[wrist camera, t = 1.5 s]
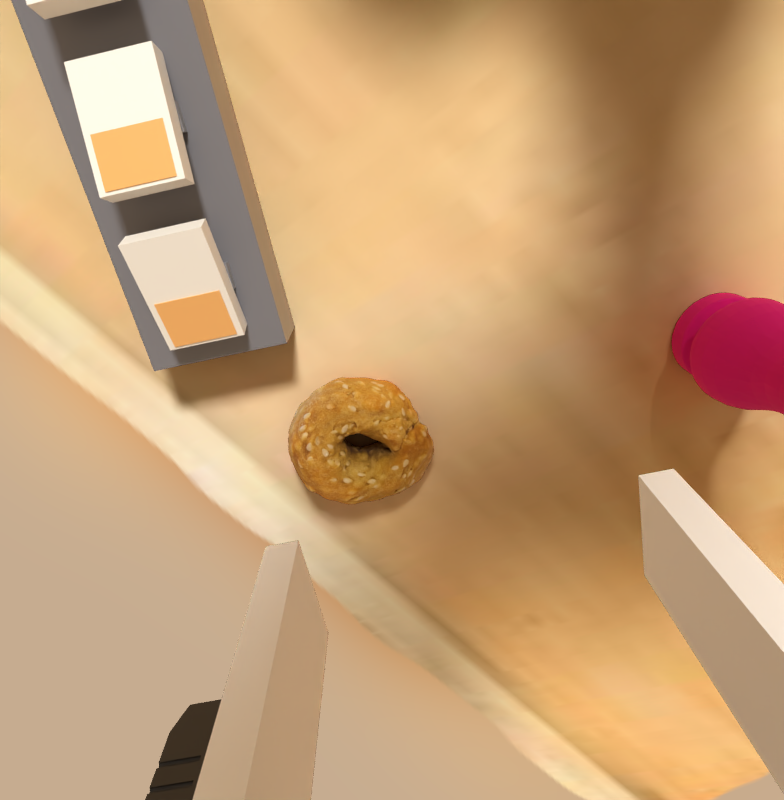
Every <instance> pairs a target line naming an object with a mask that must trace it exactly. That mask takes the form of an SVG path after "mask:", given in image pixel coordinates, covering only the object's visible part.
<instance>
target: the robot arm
mask: <svg viewBox="0 0 784 800" xmlns="http://www.w3.org/2000/svg"><path fill="white" fill-rule="evenodd" d="M638 478H639V495H640V512H641V528H642V545H643V562H644V576H645V577H646V579H647V580H648V582H649V583H650V585H651V587H652V588H653V590H654V591H655V593H656V594H657V596H658V598H659V599H660V601H661V602H662V604H663V605H664V607H665V609H666V610H667V612H668V613H669V615H670V616H671V618H672V620H673V621H674V623H675V624H676V626H677V627H678V629H679V631H680V632H681V634H682V635H683V637H684V638H685V640H686V641H687V643H688V645H689V646H690V648H691V649H692V651H693V652H694V654H695V656H696V657H697V659H698V660H699V662H700V663H701V665H702V667H703V668H704V670H705V671H706V673H707V674H708V676H709V678H710V679H711V681H712V682H713V684H714V685H715V687H716V689H717V690H718V692H719V693H720V695H721V696H722V698H723V699H724V701H725V703H726V704H727V706H728V707H729V709H730V710H731V712H732V714H733V715H734V717H735V718H736V720H737V721H738V723H739V725H740V726H741V728H742V729H743V731H744V732H745V734H746V736H747V737H748V739H749V740H750V742H751V743H752V745H753V747H754V748H755V750H756V751H757V753H758V754H759V756H760V757H761V759H762V761H763V762H764V764H765V765H766V767H767V768H768V770H769V772H770V773H771V775H772V776H773V778H774V779H775V781H776V783H777V784H778V786H779V787H780V789H781V790H782V792H783V793H784V584H783V583H782V582H781V581H780V580H779V579H778V578H777V577H776V576H775V575H774V574H773V573H772V572H771V571H770V569H769V568H768V567H767V566H766V565H765V564H764V563H763V562H762V561H761V560H760V559H759V558H758V557H757V556H756V555H755V554H754V553H753V552H752V551H751V550H750V548H749V547H748V546H747V545H746V544H745V543H744V542H743V541H742V540H741V539H740V538H739V537H738V536H737V535H736V534H735V533H734V532H733V531H732V530H731V528H730V527H729V526H728V525H727V524H726V523H725V522H724V521H723V520H722V519H721V518H720V517H719V516H718V515H717V514H716V513H715V512H714V511H713V510H712V509H711V507H710V506H709V505H708V504H707V503H706V502H705V501H704V500H703V499H702V498H701V497H700V496H699V495H698V494H697V493H696V492H695V491H694V490H693V489H692V487H691V486H690V485H689V484H688V483H687V482H686V481H685V480H684V479H683V478H682V477H681V476H680V475H679V474H678V473H677V472H676V471H675V470H674V469H669V470H664V471H658V472H653V473H648V474H643V475H638ZM327 641H328V630H327V628H326V624H325V621H324V618H323V615H322V612H321V609H320V606H319V603H318V599H317V596H316V593H315V590H314V588H313V584H312V581H311V578H310V575H309V572H308V569H307V566H306V563H305V559H304V556H303V553H302V550H301V547H300V544H299V541H293V542H288V543H282V544H277V545H272V546H267V547H265V551H264V554H263V558H262V561H261V564H260V568H259V571H258V575H257V578H256V582H255V585H254V589H253V592H252V596H251V599H250V603H249V606H248V610H247V613H246V616H245V620H244V624H243V627H242V630H241V634H240V637H239V641H238V644H237V647H236V651H235V654H234V658H233V661H232V665H231V668H230V672H229V675H228V679H227V682H226V685H225V689H224V692H223V696H222V699H221V700H215V701H210V702H204V703H198V704H193V705H190V706H189V707H188V708H187V710H186V711H185V712H184V714H183V715H182V716H181V718H180V719H179V721H178V722H177V723H176V725H175V726H174V727H173V729H172V730H171V731H170V733H169V736H168V738H167V741H166V744H165V747H164V750H163V752H162V755H161V758H160V761H159V768H157V769H156V772H155V774H154V777H153V780H152V783H151V785H150V793H149V794H147V797H146V799H145V800H311V794H312V784H313V774H314V765H315V754H316V745H317V736H318V726H319V717H320V707H321V698H322V688H323V679H324V670H325V660H326V650H327Z"/></svg>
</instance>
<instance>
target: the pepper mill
mask: <svg viewBox="0 0 784 800" xmlns="http://www.w3.org/2000/svg"><path fill="white" fill-rule="evenodd" d="M672 351H673V354H674V357H675V359H676V361H677V362H678V364H679V365H680V366H681V367H682V368H683V369H685V370H686V371H687V372H689V373H690V374H692V375H693V377H694V380H695V381H696V383H697V384H698V385H699V387H700V388H701V389H702V390H703V391H704V392H705V393H706V394H708V395H709V396H711V397H712V398H714V399H716V400H718V401H720V402H722V403H724V404H726V405H729V406H733V407H737V408H741V409H746V410H771V411H776V412H780V413H782V414H784V304H782V303H780V302H778V301H775V300H772V299H766V298H748V299H747V298H744V297H742V296H739V295H737V294H732V293H716V294H712V295H709V296H706V297H704V298H702V299H700V300H698V301H697V302H695V303H693V304H692V305H691V306H690V307H689V308H688V309H687V310H685V311H684V313H683V314H682V316H681V317H680V318H679V320H678V322H677V323H676V326H675V329H674V332H673V335H672Z"/></svg>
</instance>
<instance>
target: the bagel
mask: <svg viewBox="0 0 784 800" xmlns="http://www.w3.org/2000/svg"><path fill="white" fill-rule="evenodd" d="M356 433H360V434H363V435H365V436H368V437H370V438H372V439H374V440H377V441H380V442H377V443H374V444H371V445H368V446H363V447H360V448H359V447H358V446H353V445H351V444H349V443H348V442H347V441H346V440H345V437H346V436H348V435H353V434H356ZM288 443H289V447H288V448H289V455H290V457H291V461H292V462H293V464H294V466H295V469H296V471H297V473H298V475H299V477H300V478H301V480H302V481H303V483H304V484H305V486H306V487H307V488H308V489H309V490H310V491H311V492H315V493H317V494H319V495H321V496H322V497H323V498H326V499H329V500H334V501H338V502H341V503H345V504H357V503H360V502H365V501H374V500H380V499H382V498H384V497H386V496H392V495H394V494H397V493H400V492H401V491H403V490H405V489H407V488H409V487H410V486H411V485H413V484H415V483H416V482H418V481H419V480H420V479H421V478H422V476H423V474H424V472H425V470H426V468H427V466H428V465H429V463H430V461H431V457H432V455H433V453H434V448H433V441H432V439H431V437H430V435H429V434H428V429H427V427H426V426H425V425H423V424H421V423H420V422H419V421H418V414H417V413H416V411H415V410H414V409H413V407H412V405H411V401H410V400H409V399H408V398H407V397H406V396H405V395H404V393H402V392H401V391H400V389H399V388H398V387H397V386H396V385H394V384H393V383H391V382H388V381H384V380H374V379H370V378H343V377H341V378H338V379H336V380H333V381H331V382H329V383H327V384H326V385H324V386H322V387H321V388H319V389H317V390H315V391H314V392H313V393H312V394H311V396H310V397H309V398H308V399H307V400H306V401H304V402H303V403H301V404H300V406H299V408H298V409H297V411H296V413H295V417H294V418H293V420H292V423H291V425H290V429H289V438H288Z"/></svg>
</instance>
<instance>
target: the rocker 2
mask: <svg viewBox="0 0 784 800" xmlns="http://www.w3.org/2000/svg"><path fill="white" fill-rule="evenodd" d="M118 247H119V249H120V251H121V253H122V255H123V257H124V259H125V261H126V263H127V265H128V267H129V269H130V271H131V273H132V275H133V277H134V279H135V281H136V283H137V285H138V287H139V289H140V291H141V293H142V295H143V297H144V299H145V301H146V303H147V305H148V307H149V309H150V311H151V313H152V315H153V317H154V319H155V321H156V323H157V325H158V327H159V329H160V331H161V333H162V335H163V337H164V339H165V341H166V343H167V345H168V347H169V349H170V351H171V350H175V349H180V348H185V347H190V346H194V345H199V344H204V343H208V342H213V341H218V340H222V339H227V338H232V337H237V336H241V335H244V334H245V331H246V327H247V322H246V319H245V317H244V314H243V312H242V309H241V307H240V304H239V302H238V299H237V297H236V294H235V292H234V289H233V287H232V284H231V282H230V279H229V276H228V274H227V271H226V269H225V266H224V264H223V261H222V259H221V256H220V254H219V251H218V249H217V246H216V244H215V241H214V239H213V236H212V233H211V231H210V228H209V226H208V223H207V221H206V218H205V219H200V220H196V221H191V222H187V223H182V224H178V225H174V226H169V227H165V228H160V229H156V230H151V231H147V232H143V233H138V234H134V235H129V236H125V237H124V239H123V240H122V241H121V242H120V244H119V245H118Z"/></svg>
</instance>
